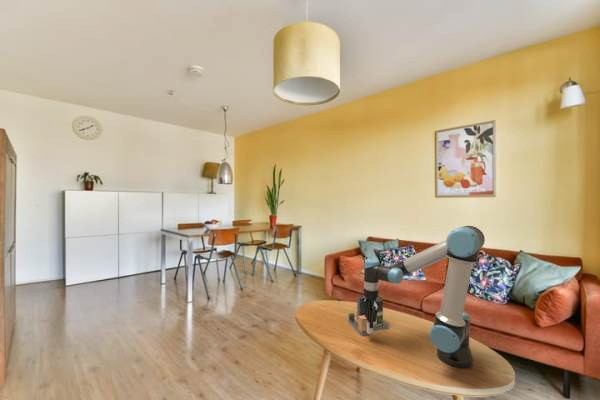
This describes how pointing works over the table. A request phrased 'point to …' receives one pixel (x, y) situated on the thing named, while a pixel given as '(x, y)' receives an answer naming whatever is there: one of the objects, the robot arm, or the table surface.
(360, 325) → the lever knob
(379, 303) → the coffee can
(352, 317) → the rail
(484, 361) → the table surface
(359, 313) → the tray
